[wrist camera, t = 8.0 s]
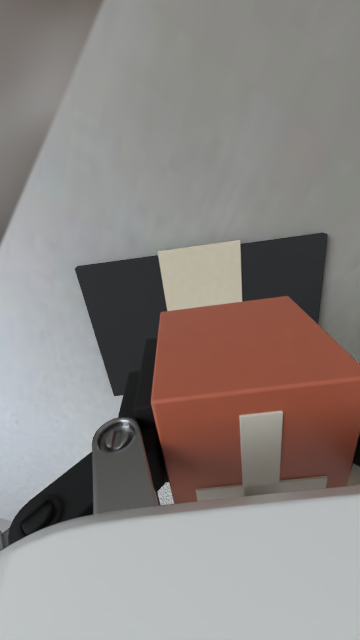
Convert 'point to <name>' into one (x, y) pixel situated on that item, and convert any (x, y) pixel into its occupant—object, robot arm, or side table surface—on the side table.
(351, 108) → the side table surface
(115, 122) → the side table surface
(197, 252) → the word mat
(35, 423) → the side table surface
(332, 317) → the side table surface
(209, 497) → the terracotta block
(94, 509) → the robot arm
